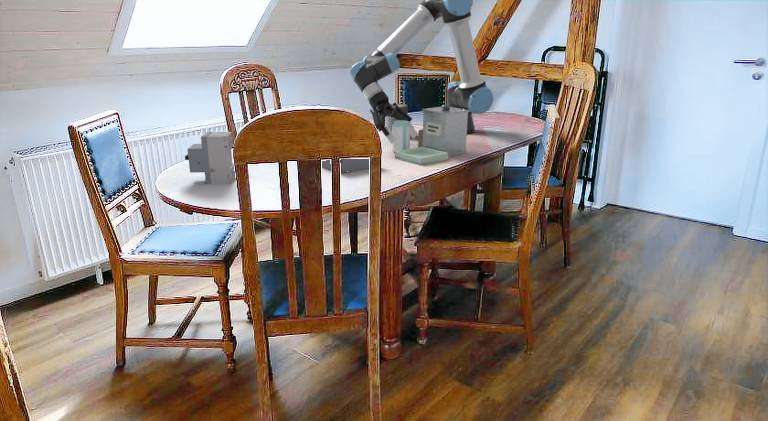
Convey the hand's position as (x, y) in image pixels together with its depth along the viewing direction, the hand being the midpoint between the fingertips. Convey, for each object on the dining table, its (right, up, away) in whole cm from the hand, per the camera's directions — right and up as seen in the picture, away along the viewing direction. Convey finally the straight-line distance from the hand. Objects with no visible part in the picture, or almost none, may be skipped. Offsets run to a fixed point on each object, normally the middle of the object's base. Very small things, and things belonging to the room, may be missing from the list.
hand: (405, 139), depth 211 cm
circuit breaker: (-63, -18, -38) cm, 76 cm away
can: (-2, -5, +3) cm, 6 cm away
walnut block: (+9, -2, +11) cm, 15 cm away
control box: (+15, -5, +1) cm, 16 cm away
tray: (+6, -8, -8) cm, 13 cm away
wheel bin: (-21, -12, -19) cm, 31 cm away
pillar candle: (-3, +6, +34) cm, 35 cm away
